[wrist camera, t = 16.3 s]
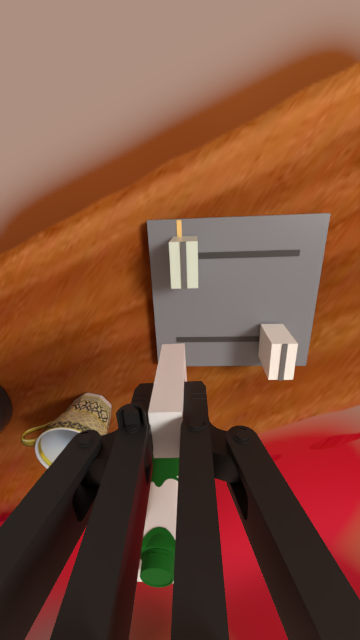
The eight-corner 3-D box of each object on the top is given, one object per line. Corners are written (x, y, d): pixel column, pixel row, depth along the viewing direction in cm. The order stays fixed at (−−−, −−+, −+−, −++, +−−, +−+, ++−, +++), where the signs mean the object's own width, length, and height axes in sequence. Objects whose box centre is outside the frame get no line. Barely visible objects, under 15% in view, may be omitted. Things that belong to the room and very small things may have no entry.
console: (160, 359, 43) (158, 366, 41) (149, 219, 35) (146, 220, 33) (301, 358, 42) (306, 366, 40) (323, 213, 34) (330, 213, 32)
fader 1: (175, 276, 35) (171, 289, 30) (173, 236, 33) (168, 242, 28) (197, 275, 35) (198, 288, 29) (197, 235, 33) (197, 241, 28)
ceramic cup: (123, 389, 46) (104, 434, 37) (119, 432, 50) (102, 484, 40) (47, 377, 46) (10, 419, 36) (50, 422, 50) (16, 470, 40)
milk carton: (195, 431, 48) (194, 567, 30) (196, 467, 52) (196, 609, 33) (146, 430, 49) (116, 564, 31) (151, 466, 52) (126, 606, 34)
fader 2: (258, 355, 39) (268, 380, 33) (260, 324, 37) (272, 344, 32) (279, 355, 39) (293, 380, 33) (282, 323, 37) (298, 344, 31)
